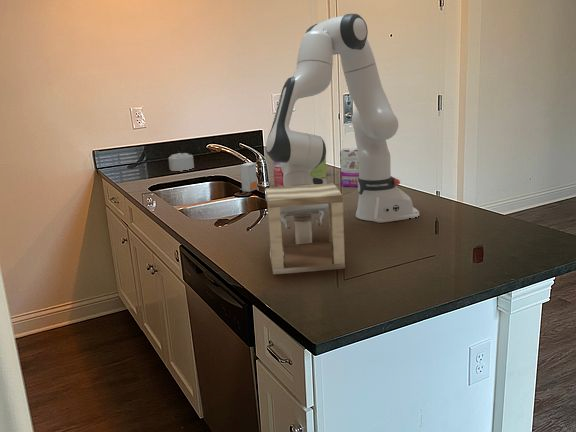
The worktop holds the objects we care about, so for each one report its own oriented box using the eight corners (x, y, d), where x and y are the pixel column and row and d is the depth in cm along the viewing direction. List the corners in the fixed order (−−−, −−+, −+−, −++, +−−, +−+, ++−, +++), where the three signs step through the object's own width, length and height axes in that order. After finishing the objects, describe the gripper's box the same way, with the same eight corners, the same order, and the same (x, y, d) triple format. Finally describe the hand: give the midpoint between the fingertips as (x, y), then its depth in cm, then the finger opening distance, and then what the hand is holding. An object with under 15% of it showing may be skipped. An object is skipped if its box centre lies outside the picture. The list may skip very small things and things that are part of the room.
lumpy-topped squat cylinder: (169, 169, 322) (167, 153, 320) (192, 166, 326) (190, 151, 324) (171, 172, 313) (169, 156, 311) (195, 169, 317) (194, 153, 314)
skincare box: (249, 192, 258) (247, 165, 255) (242, 191, 261) (239, 164, 257) (257, 189, 263) (255, 162, 260) (250, 188, 266) (248, 162, 262)
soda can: (290, 197, 245) (288, 166, 242) (273, 197, 247) (271, 166, 243) (293, 193, 252) (291, 163, 249) (277, 193, 254) (275, 163, 250)
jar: (312, 249, 175) (310, 212, 172) (314, 255, 170) (312, 217, 167) (294, 251, 175) (292, 214, 171) (296, 257, 170) (294, 218, 166)
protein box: (327, 176, 280) (325, 144, 276) (300, 182, 272) (299, 149, 268) (314, 173, 289) (312, 142, 284) (288, 179, 280) (286, 146, 276)
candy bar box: (368, 185, 258) (367, 148, 254) (365, 187, 254) (364, 150, 250) (344, 184, 263) (342, 147, 258) (340, 186, 258) (339, 149, 254)
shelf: (269, 254, 178) (265, 186, 172) (335, 248, 179) (332, 181, 173) (273, 274, 161) (268, 200, 156) (344, 268, 163) (342, 195, 157)
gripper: (264, 184, 178) (269, 224, 171) (331, 178, 179) (338, 218, 172) (264, 195, 183) (269, 234, 176) (329, 189, 185) (336, 228, 178)
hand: (303, 226), depth 174 cm, fingers open, 8 cm apart
